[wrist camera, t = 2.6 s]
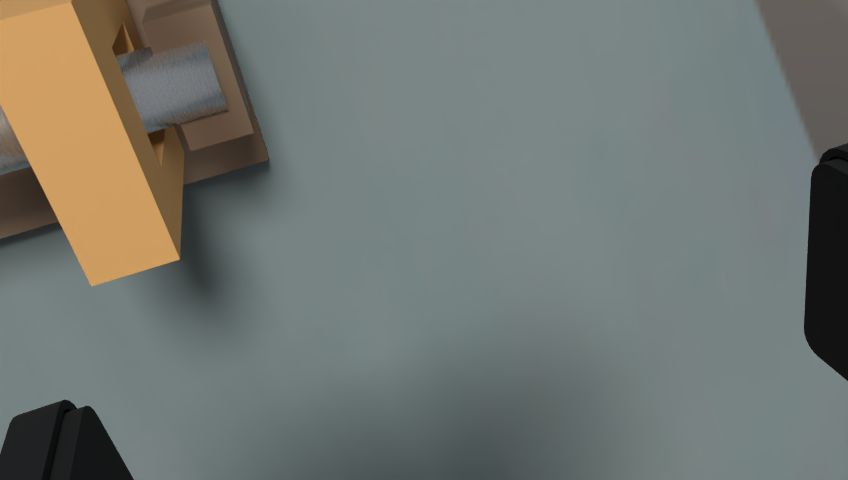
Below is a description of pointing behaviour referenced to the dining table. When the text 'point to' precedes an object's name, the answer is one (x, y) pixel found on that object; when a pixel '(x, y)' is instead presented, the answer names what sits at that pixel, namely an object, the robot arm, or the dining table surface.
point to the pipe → (149, 94)
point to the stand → (201, 139)
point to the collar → (91, 133)
